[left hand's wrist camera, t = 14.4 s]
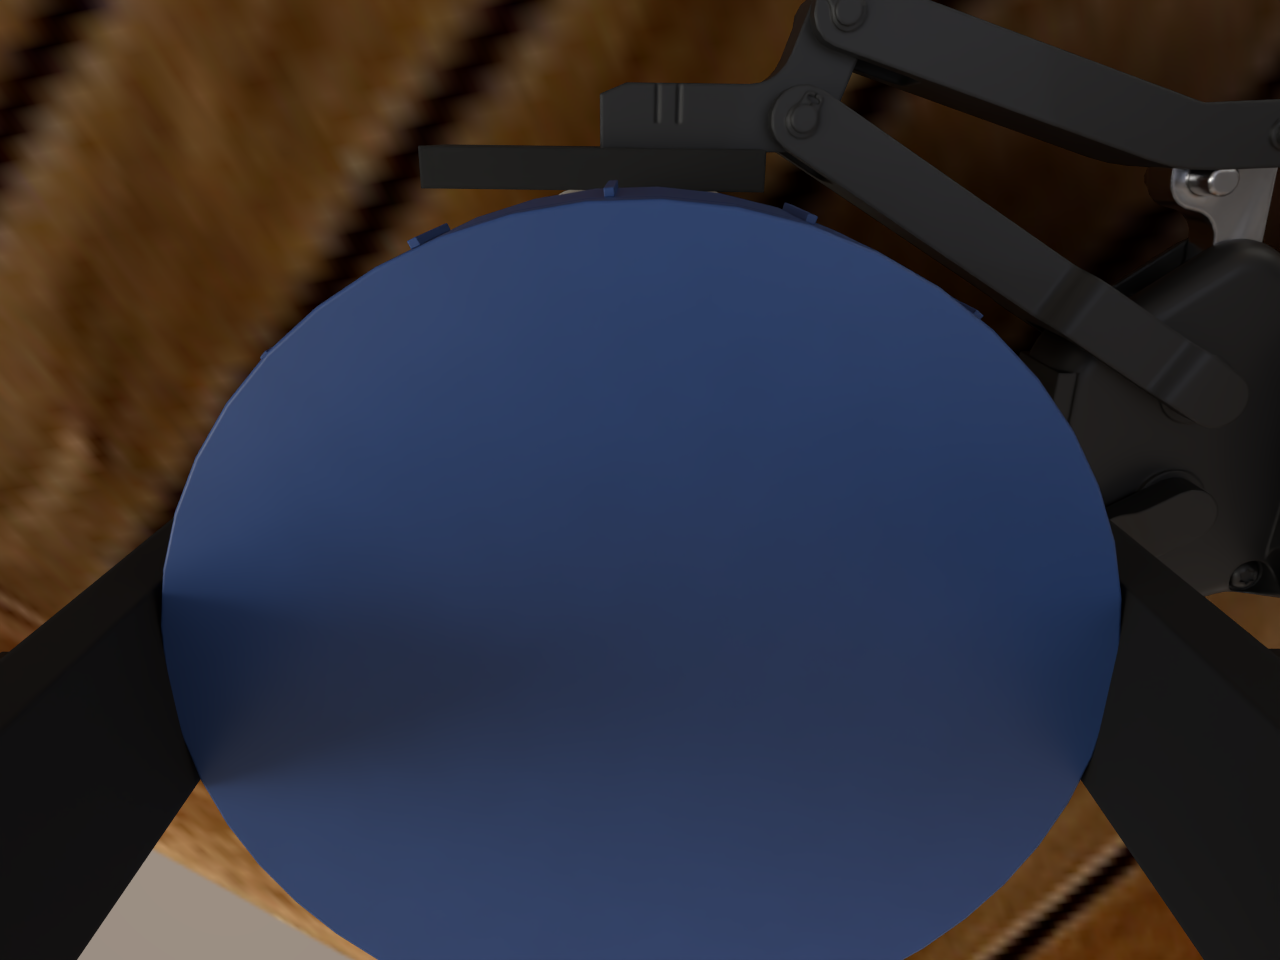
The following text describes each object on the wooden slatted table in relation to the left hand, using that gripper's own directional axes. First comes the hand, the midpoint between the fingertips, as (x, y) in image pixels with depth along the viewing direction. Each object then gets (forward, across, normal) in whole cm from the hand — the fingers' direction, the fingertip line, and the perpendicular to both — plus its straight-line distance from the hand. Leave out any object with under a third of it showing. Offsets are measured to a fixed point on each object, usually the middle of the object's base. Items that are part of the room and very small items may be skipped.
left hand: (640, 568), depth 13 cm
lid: (-3, 0, 0) cm, 3 cm away
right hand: (+7, -4, 0) cm, 8 cm away
